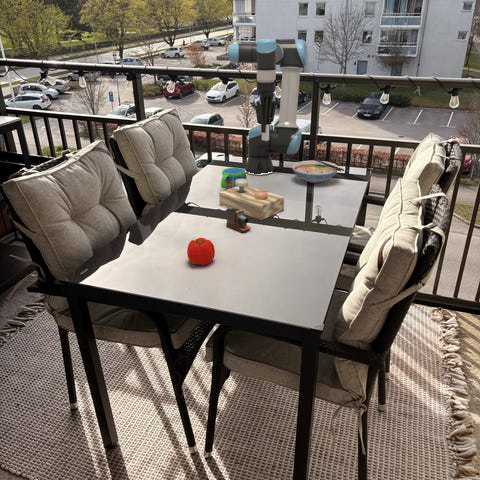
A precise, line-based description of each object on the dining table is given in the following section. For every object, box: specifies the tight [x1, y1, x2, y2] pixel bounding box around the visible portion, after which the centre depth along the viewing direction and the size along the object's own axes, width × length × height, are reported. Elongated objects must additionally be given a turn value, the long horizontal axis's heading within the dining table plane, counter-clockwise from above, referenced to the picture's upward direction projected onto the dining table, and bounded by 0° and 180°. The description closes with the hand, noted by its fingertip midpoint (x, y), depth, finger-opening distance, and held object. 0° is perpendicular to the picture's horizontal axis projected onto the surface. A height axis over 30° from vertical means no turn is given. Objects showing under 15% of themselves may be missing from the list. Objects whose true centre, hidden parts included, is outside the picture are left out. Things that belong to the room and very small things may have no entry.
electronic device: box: [226, 208, 252, 234], centre depth 175 cm, size 4×10×8 cm, turn 45°
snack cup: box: [220, 167, 248, 190], centre depth 212 cm, size 16×10×10 cm
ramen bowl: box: [291, 158, 345, 184], centre depth 226 cm, size 25×23×8 cm
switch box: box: [219, 185, 285, 221], centre depth 194 cm, size 14×24×6 cm, turn 46°
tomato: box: [186, 237, 216, 266], centre depth 150 cm, size 9×9×8 cm
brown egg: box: [255, 189, 268, 199], centre depth 190 cm, size 5×5×6 cm
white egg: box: [235, 179, 249, 193], centre depth 196 cm, size 5×5×6 cm
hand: (265, 140), depth 194 cm, fingers closed
